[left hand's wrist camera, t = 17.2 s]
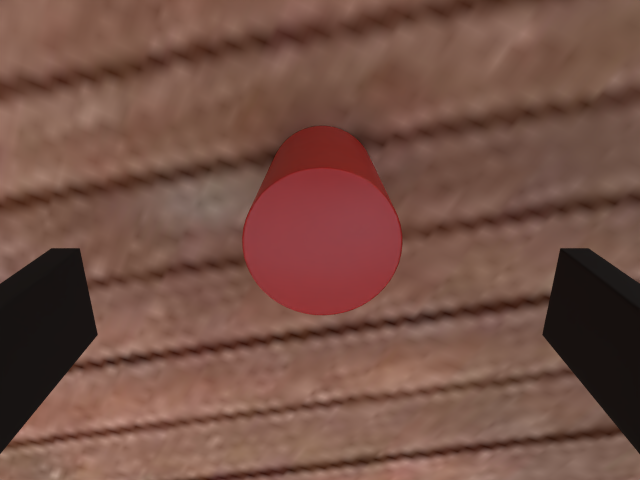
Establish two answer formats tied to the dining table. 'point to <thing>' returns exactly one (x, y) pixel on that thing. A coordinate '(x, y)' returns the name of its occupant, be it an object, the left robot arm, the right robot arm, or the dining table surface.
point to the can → (322, 225)
